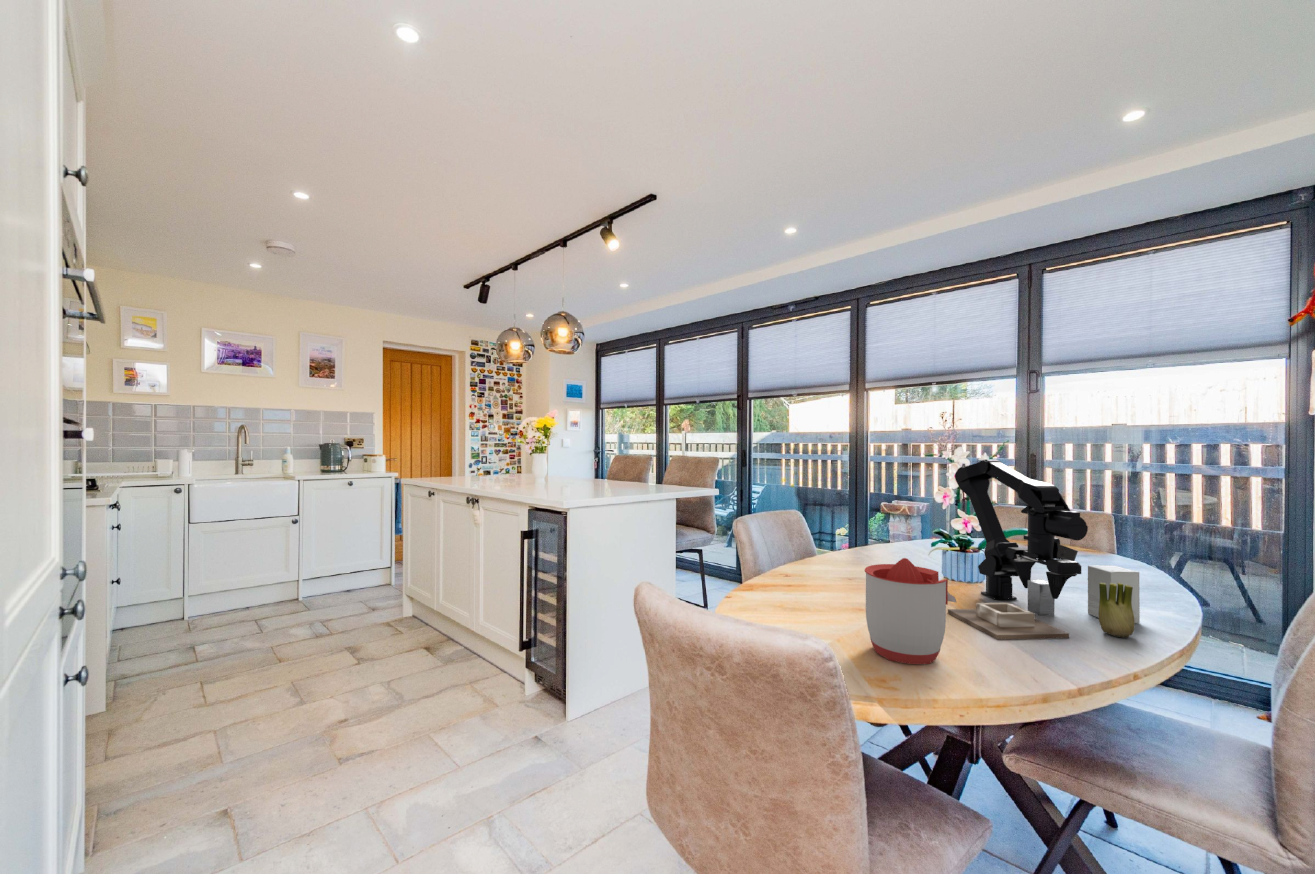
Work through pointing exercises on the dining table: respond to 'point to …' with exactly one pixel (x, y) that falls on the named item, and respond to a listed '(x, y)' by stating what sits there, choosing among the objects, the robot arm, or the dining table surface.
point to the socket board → (1007, 622)
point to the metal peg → (1040, 598)
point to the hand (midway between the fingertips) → (1040, 593)
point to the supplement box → (1108, 577)
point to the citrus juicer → (906, 611)
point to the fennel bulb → (1116, 610)
